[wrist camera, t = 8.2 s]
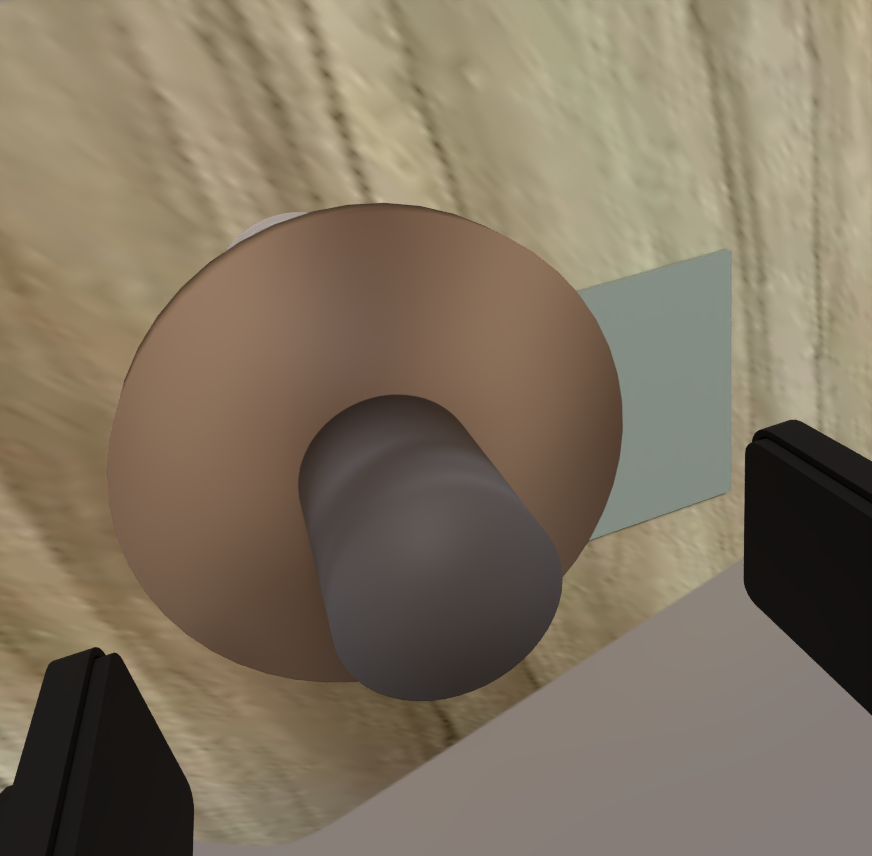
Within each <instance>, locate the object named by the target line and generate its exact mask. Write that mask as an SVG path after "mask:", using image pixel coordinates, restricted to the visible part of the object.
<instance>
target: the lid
mask: <svg viewBox="0 0 872 856" xmlns="http://www.w3.org/2000/svg"><path fill="white" fill-rule="evenodd" d="M622 433H623V414H622V397H621V391H620V385H619V379H618V373H617V370H616V367H615V363H614V360H613V357H612V354H611V350H610V347H609V345H608V343H607V341H606V339H605V337H604V334H603V332H602V330H601V328H600V326H599V324H598V322H597V320H596V318H595V317H594V315H593V314H592V312H591V311H590V310H589V308H588V307H587V305H586V304H585V302H584V301H583V299H582V298H581V296H580V295H579V294H578V293H577V292H576V291H575V289H574V288H573V287H572V286H571V285H570V284H569V283H568V282H567V281H566V280H565V279H564V278H563V277H562V275H561V274H560V273H559V272H558V271H556V270H555V269H554V268H553V267H551V266H550V265H549V264H548V263H546V262H545V261H544V260H542V259H541V258H540V257H539V256H537V255H536V254H535V253H534V252H532V251H530V250H529V249H527V248H525V247H523V246H522V245H520V244H518V243H516V242H515V241H513V240H511V239H509V238H508V237H506V236H504V235H502V234H500V233H498V232H496V231H494V230H492V229H490V228H488V227H486V226H483V225H481V224H478V223H476V222H473V221H470V220H468V219H465V218H463V217H460V216H458V215H455V214H452V213H447V212H443V211H439V210H435V209H430V208H426V207H422V206H413V205H402V204H390V203H375V204H355V205H345V206H339V207H334V208H329V209H324V210H318V211H313V212H309V213H306V214H303V215H300V216H297V217H294V218H292V219H289V220H286V221H283V222H280V223H277V224H274V225H272V226H270V227H268V228H266V229H264V230H262V231H260V232H258V233H256V234H254V235H252V236H250V237H248V238H246V239H244V240H242V241H240V242H239V243H237V244H236V245H234V246H233V247H231V248H230V249H228V250H227V251H225V252H224V253H222V254H221V255H220V256H218V257H217V258H215V259H214V260H212V261H211V262H209V263H208V264H207V265H206V266H205V267H204V268H203V269H201V270H200V271H199V272H198V273H197V274H196V275H195V276H194V277H193V278H192V279H190V280H189V281H188V282H187V283H186V284H185V285H184V286H183V287H182V288H181V289H180V290H179V291H178V292H177V293H176V295H175V296H174V297H173V298H172V299H171V301H170V302H169V303H168V304H167V305H166V307H165V308H164V309H163V310H162V311H161V313H160V314H159V315H158V316H157V318H156V319H155V321H154V323H153V324H152V326H151V328H150V329H149V331H148V333H147V334H146V336H145V337H144V339H143V341H142V342H141V344H140V346H139V347H138V350H137V352H136V354H135V357H134V359H133V361H132V364H131V366H130V368H129V371H128V373H127V375H126V378H125V380H124V384H123V388H122V392H121V395H120V399H119V403H118V407H117V411H116V415H115V418H114V422H113V426H112V430H111V434H110V442H109V453H108V464H107V480H108V494H109V505H110V510H111V514H112V518H113V523H114V527H115V531H116V535H117V538H118V540H119V543H120V545H121V548H122V550H123V553H124V555H125V557H126V560H127V562H128V565H129V566H130V568H131V570H132V571H133V573H134V575H135V576H136V578H137V579H138V581H139V583H140V584H141V586H142V588H143V589H144V591H145V592H146V593H147V595H148V596H149V597H150V598H151V599H152V601H153V602H154V603H155V604H156V605H157V606H158V608H159V609H160V610H161V611H162V612H163V614H164V615H165V616H167V617H168V618H169V619H170V620H171V621H172V622H173V623H174V624H176V625H177V626H178V627H179V628H180V629H181V630H182V631H184V632H185V633H186V634H187V635H188V636H190V637H191V638H193V639H195V640H196V641H198V642H199V643H201V644H202V645H204V646H205V647H207V648H208V649H210V650H211V651H213V652H215V653H217V654H219V655H221V656H223V657H225V658H227V659H230V660H232V661H234V662H236V663H238V664H240V665H243V666H246V667H249V668H252V669H255V670H258V671H261V672H264V673H267V674H272V675H277V676H281V677H286V678H291V679H296V680H306V681H317V682H358V681H359V682H360V683H362V684H363V685H364V686H366V687H367V688H369V689H371V690H373V691H375V692H377V693H380V694H383V695H385V696H388V697H392V698H397V699H401V700H410V701H433V700H441V699H447V698H451V697H455V696H459V695H462V694H465V693H468V692H471V691H474V690H476V689H478V688H481V687H483V686H485V685H487V684H489V683H491V682H493V681H494V680H496V679H498V678H500V677H501V676H503V675H504V674H505V673H507V672H508V671H510V670H511V669H512V668H514V667H515V666H516V665H517V664H518V663H520V662H521V661H522V660H523V659H524V658H525V657H526V656H527V655H528V654H529V653H530V652H531V651H532V650H533V649H534V647H535V646H536V645H537V644H538V642H539V641H540V640H541V639H542V637H543V636H544V634H545V632H546V631H547V629H548V628H549V626H550V624H551V622H552V620H553V618H554V616H555V613H556V610H557V607H558V605H559V601H560V596H561V591H562V577H563V576H564V575H565V573H566V572H567V571H568V570H569V568H570V567H571V566H572V565H573V563H574V562H575V561H576V559H577V558H578V556H579V555H580V553H581V552H582V550H583V549H584V547H585V546H586V544H587V542H588V541H589V539H590V538H591V536H592V534H593V532H594V530H595V528H596V526H597V524H598V522H599V520H600V518H601V516H602V514H603V512H604V509H605V507H606V504H607V501H608V499H609V496H610V493H611V490H612V488H613V485H614V480H615V476H616V472H617V468H618V464H619V459H620V452H621V443H622Z"/></svg>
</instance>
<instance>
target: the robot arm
mask: <svg viewBox="0 0 872 856" xmlns="http://www.w3.org/2000/svg"><path fill="white" fill-rule="evenodd" d="M744 585H745V588H746V591H747V593H748V595H749V596H750V598H751V600H752V601H753V602H754V604H755V605H756V606H757V607H758V608H760V609H761V610H762V611H763V612H764V613H765V614H766V615H767V616H768V617H769V618H770V619H771V620H772V621H773V622H774V623H775V624H776V625H777V626H778V627H779V628H780V629H782V630H783V631H784V632H785V633H786V634H787V635H788V636H789V637H790V638H791V639H792V640H793V641H794V642H795V643H796V644H797V645H798V646H799V647H800V648H802V649H803V650H804V651H805V652H806V653H807V654H808V655H809V656H810V657H811V658H812V659H813V660H814V661H815V662H816V663H817V664H818V665H820V666H821V667H822V668H823V669H824V670H825V671H826V672H827V673H828V674H829V675H830V676H831V677H832V678H833V679H834V680H835V681H836V682H837V683H838V684H839V685H841V687H843V688H844V689H845V690H846V691H847V692H848V693H849V694H850V695H851V696H852V697H853V698H854V699H855V700H856V701H857V702H858V703H859V704H861V706H862V707H864V708H865V709H866V710H867V711H868V712H869V713H870V714H871V715H872V461H870V460H868V459H867V458H865V457H863V456H861V455H860V454H858V453H856V452H854V451H853V450H851V449H849V448H847V447H845V446H844V445H842V444H840V443H838V442H837V441H835V440H833V439H831V438H830V437H828V436H826V435H824V434H822V433H821V432H819V431H817V430H815V429H814V428H812V427H810V426H808V425H807V424H805V423H803V422H801V421H798V420H789V421H786V422H782V423H779V424H776V425H773V426H770V427H767V428H764V429H761V430H759V431H757V432H756V433H755V434H754V436H753V439H752V443H750V444H749V445H748V446H747V448H746V451H745V510H744ZM193 828H194V804H193V797H192V792H191V789H190V786H189V783H188V781H187V779H186V777H185V775H184V774H183V772H182V770H181V768H180V766H179V764H178V762H177V760H176V759H175V757H174V755H173V753H172V751H171V749H170V747H169V746H168V744H167V742H166V740H165V738H164V736H163V734H162V732H161V731H160V729H159V727H158V725H157V723H156V721H155V719H154V718H153V716H152V714H151V712H150V710H149V708H148V706H147V704H146V703H145V701H144V699H143V697H142V695H141V693H140V691H139V690H138V688H137V686H136V684H135V682H134V680H133V678H132V677H131V675H130V673H129V671H128V669H127V667H126V665H125V663H124V662H123V660H122V658H121V657H120V655H118V654H117V653H112V654H109V655H105V653H104V652H103V651H102V650H101V649H100V648H97V647H94V648H91V649H88V650H85V651H82V652H79V653H76V654H73V655H70V656H67V657H64V658H61V659H58V660H54V661H52V662H51V663H50V664H49V665H48V667H47V669H46V672H45V676H44V679H43V683H42V686H41V690H40V693H39V697H38V700H37V704H36V707H35V710H34V714H33V717H32V721H31V724H30V728H29V731H28V735H27V738H26V741H25V745H24V748H23V752H22V755H21V759H20V762H19V766H18V769H17V772H16V776H15V779H14V783H13V785H11V786H8V787H6V788H5V789H4V790H3V791H2V792H1V794H0V856H193Z"/></svg>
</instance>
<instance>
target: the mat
mask: <svg viewBox="0 0 872 856" xmlns="http://www.w3.org/2000/svg"><path fill="white" fill-rule="evenodd" d="M731 256H732V251H730V250H727V249H724V250H720V251H717V252H713V253H710V254H706V255H703V256H699V257H696V258H692V259H689V260H685V261H682V262H678V263H675V264H671V265H668V266H664V267H661V268H657V269H654V270H650V271H647V272H643V273H640V274H636V275H633V276H629V277H626V278H622V279H619V280H615V281H611V282H608V283H604V284H601V285H597V286H594V287H590V288H587V289H583V290H580V291H576V292H577V293H578V294H579V295H580V296H581V298H582V299H583V301H584V302H585V304H586V305H587V307H588V308H589V310H590V311H591V312H592V314H593V315H594V317H595V318H596V320H597V322H598V324H599V326H600V328H601V330H602V332H603V334H604V337H605V339H606V341H607V343H608V345H609V347H610V350H611V354H612V357H613V360H614V363H615V367H616V370H617V373H618V379H619V385H620V391H621V397H622V414H623V433H622V443H621V452H620V459H619V464H618V468H617V472H616V476H615V480H614V485H613V488H612V490H611V493H610V496H609V499H608V501H607V504H606V507H605V509H604V512H603V514H602V516H601V518H600V520H599V522H598V524H597V526H596V528H595V530H594V532H593V534H592V536H591V538H590V539H589V540H592V539H594V538H597V537H600V536H603V535H606V534H609V533H612V532H614V531H617V530H620V529H623V528H626V527H629V526H632V525H634V524H637V523H640V522H643V521H646V520H649V519H652V518H654V517H657V516H660V515H663V514H666V513H669V512H672V511H675V510H677V509H680V508H683V507H686V506H689V505H692V504H695V503H697V502H700V501H703V500H706V499H709V498H712V497H715V496H717V495H720V494H723V493H726V492H729V491H731Z"/></svg>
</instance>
